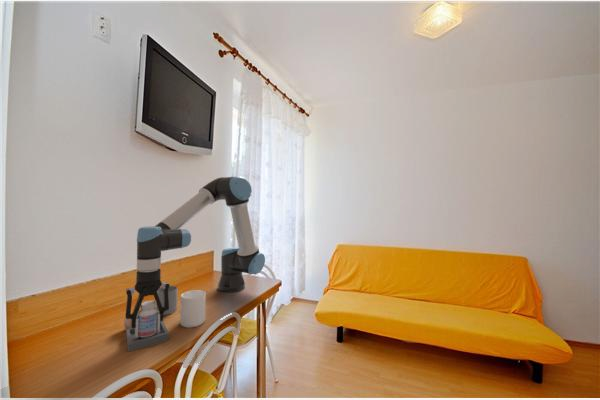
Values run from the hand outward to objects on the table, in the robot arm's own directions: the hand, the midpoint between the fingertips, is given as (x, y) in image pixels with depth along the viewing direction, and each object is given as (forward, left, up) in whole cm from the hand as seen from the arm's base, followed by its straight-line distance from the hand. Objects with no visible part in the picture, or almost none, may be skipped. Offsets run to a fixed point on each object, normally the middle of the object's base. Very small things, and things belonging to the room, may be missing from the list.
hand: (147, 333), depth 92 cm
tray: (0, 0, -2) cm, 2 cm away
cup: (-10, -21, -2) cm, 23 cm away
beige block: (+2, -11, -2) cm, 11 cm away
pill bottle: (0, 0, 0) cm, 0 cm away
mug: (-16, -4, -2) cm, 17 cm away
